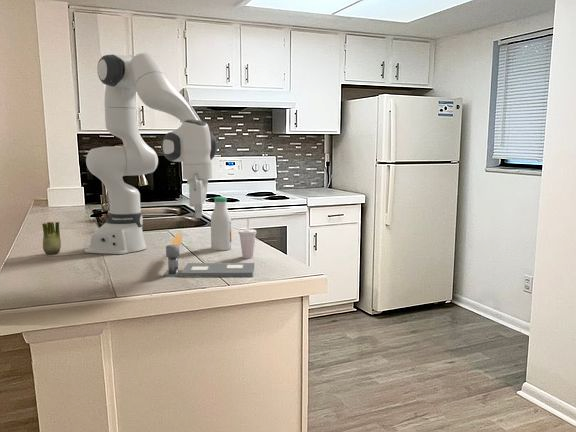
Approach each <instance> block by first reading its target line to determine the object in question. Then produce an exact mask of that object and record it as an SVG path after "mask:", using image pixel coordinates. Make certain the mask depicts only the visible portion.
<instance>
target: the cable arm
mask: <svg viewBox="0 0 576 432" xmlns="http://www.w3.org/2000/svg"><path fill="white" fill-rule="evenodd" d="M182 242H183V239H182V233H175V236H174V237H173V239H172V240H171V243H170V244H168V245H166V246H165V257H166V258H168V257H169V258H174V257H178V258H179V257H180V247H181V244H182Z"/></svg>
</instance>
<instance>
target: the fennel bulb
mask: <svg viewBox="0 0 576 432" xmlns="http://www.w3.org/2000/svg"><path fill="white" fill-rule="evenodd" d="M41 225H42V230H43V238H42V250H43V253H44V254H46V255H56V254H59V253H60V252H61V247H62V240H61V232H60V222H59V221H55V223H54V221H48V222H44V223H41Z"/></svg>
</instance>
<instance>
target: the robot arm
mask: <svg viewBox="0 0 576 432" xmlns="http://www.w3.org/2000/svg"><path fill="white" fill-rule="evenodd" d="M96 69H97V77H98V79H99V80H100V81H101V83H102V84H104V85H105V90H104V118H105V119H104V122H105V129H106V131H107V132H109V134H111V135H112V136H115V137H117V138H118V139H120V140H121V141H122V143H123V145H122V146H117V145H116V146H101V147H95V148H91V149H90V150H89V151H88V152H87V155H86V157H85V163H86V164H85V165H86V167H87V170H88V171H89V172H90V173H91V175H93V176H95V177H96V178H97V179H99V180H100V181H101V182H102V184H103V185H104V186H105V189H106V191H107V194H108V195H107V196H108V202H109V212H107V214H105V215H104V216H103V217H104V220H105V223H104V224H103V225H101V226H100V227H99V228H97V229H96V230H95V231H94V232H93V233H92V234H91V237H90V242H89V245H87V246H85V247H84V251H83V252H84V253H86V254H107V255H110V254H111V255H112V254H113V255H124V254H127V253H133V252H139V251H144V250H145V249H147V248H148V247H147V244H146V240H145V237H144V236H145V235H144V232H143V223H144V222H143V221H144V220H143V212H142V211H141V210H142V209H141V193H140V191H139V189H138V188H136V187H135V186H133V185H131V184H128V183H126V182H125V181H124V179H123V177H126V176H144V175H147V174H152V173H154V172H155V171H156V169H158V165H159V157H158V154H157V152H156V151H155V150H154V149H153V148H152V147H150V145H148V143H146V142H145V141H144V139H143V137H142V136H141V134H140V130H139V126H138V125H139V123H138V117H137V115H138V114H137V102H136V94H137V95H138V97H139V99H140V101H141V102H143V104H144V105H145V106H147V107H148V108H150V109H152V110H155V111H159V112H163V113H166V114H168V115H171V116H173V117H175V118H177V119H178V121H180V122H181V125H180V126H179V127H178V128H176V129H174V130H172V131H171V132H170V131H169V132H167V133H166V134H165V135H164V137H163V139H162V141H161V150H162V154H163V155H164V157H165V158H166V159H167V160H168V161H170V162H174V163H177V162H178V163H181V162H182V165H181V166H182V179H183V180H186V182H187V183H186V185H189V186H188V190H189V191H188V194H189V195H188V196H189V197H188V199H189V200H188V201H189V202H188V203H189V206H190V207H193V208H194V212H195V213H194V214H195V218H196V219H201V218H202V217H203V204H204V203H205V201H206V198H207V192H208V191H207V190H208V184H209V180H212V178H213V171H212V170H213V169H212V168H213V167H212V165H213V164H212V160H213V159H214V158H215V156H216V155H217V153H218V149H219V146H218V141H217V139H216V137H215V136H214V134H213V133H212V132H211V131H210V127H209V124H208V123H207V122H206V121H203V120H201V118H200V117H199V115H198V114H197V112H196V110H195V109H194V108H193V106H192V105H191V103H190V102H189V101H188V99H187V98H186V97H185V96H184V95H182V94H181V93H180V91H178V90H177V89H176V88H175V87H174V85H173V84H172V83H171V82H170V80H169V79H168V77H167V74H166V72H165V71H164V69H163V67H162V66H161V64H160V63H159V61H158V60H157V59H156V58H155V56H153V55H152V54H149V53H147V52H141V53H138V54H136V55H131V54H129V55H121V54H118V55H115V54H105V55H102V56H101V58H100V59H99V61H98V62H97V67H96Z"/></svg>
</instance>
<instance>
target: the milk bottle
mask: <svg viewBox="0 0 576 432" xmlns="http://www.w3.org/2000/svg"><path fill="white" fill-rule="evenodd" d="M227 199H228V198H227V197H226V196H215V197H214V198H213V200H214V209H213V211H212V214H211V218H210V245H211V247H210V248H211V249H212V250H214V251H228V250H231V249H232V219H231V215H230V213H229V209H228V208H227V203H228V202H227Z"/></svg>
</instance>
